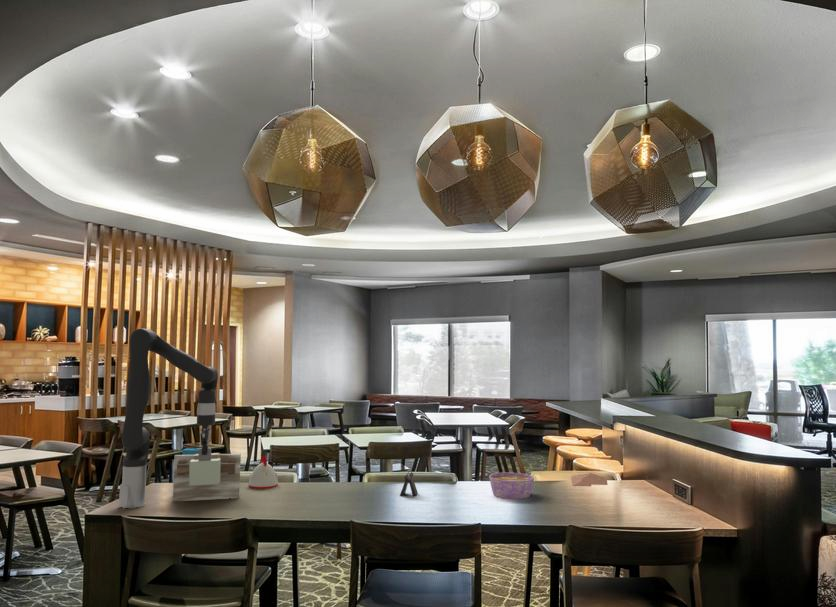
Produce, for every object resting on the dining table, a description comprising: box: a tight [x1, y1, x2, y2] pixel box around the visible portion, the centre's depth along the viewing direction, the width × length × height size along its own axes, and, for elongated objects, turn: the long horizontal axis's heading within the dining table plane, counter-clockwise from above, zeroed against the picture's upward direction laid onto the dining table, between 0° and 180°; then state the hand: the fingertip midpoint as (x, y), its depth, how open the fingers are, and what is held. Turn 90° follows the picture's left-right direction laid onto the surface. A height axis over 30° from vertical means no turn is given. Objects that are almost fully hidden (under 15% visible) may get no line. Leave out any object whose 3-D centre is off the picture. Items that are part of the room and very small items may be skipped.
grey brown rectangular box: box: [172, 453, 242, 502], centre depth 284 cm, size 13×28×20 cm, turn 101°
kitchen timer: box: [248, 455, 279, 490], centre depth 312 cm, size 14×14×15 cm
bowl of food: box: [488, 472, 535, 500], centre depth 285 cm, size 20×20×12 cm
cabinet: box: [189, 447, 221, 486], centre depth 277 cm, size 11×12×15 cm
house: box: [570, 472, 608, 487], centre depth 314 cm, size 23×33×8 cm
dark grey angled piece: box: [399, 472, 419, 497], centre depth 287 cm, size 9×6×12 cm, turn 81°
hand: (204, 454), depth 273 cm, fingers closed
